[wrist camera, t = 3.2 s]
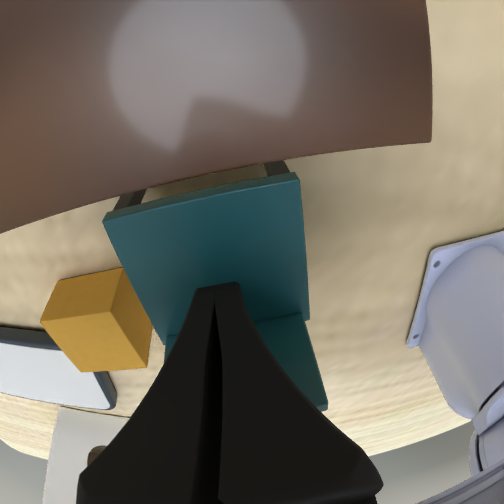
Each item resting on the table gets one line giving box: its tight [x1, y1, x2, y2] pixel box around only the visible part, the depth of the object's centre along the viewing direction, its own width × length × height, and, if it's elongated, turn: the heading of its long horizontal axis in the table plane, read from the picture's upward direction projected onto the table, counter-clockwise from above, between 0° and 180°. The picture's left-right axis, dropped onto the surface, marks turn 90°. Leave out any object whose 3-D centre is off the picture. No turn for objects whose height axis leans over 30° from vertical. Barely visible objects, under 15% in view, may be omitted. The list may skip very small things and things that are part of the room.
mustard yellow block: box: [40, 267, 153, 372], centre depth 16 cm, size 4×4×3 cm
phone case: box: [0, 327, 117, 410], centre depth 19 cm, size 9×2×16 cm
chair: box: [102, 160, 328, 412], centre depth 11 cm, size 6×6×8 cm
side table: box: [0, 0, 432, 234], centre depth 7 cm, size 7×12×7 cm, turn 99°
